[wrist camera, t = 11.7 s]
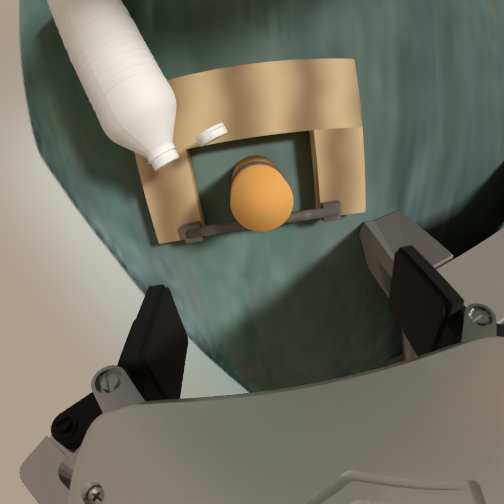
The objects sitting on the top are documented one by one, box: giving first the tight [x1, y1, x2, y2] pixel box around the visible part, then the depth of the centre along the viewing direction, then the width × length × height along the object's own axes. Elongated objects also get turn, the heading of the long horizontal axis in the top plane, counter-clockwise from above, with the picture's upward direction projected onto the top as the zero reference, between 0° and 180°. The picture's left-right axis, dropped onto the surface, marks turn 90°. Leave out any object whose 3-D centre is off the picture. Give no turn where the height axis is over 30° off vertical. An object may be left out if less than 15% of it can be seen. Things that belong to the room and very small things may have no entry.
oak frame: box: [134, 59, 365, 244], centre depth 26 cm, size 22×16×3 cm
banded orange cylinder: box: [230, 156, 293, 232], centre depth 25 cm, size 5×5×8 cm
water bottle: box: [47, 0, 228, 171], centre depth 18 cm, size 9×6×25 cm
